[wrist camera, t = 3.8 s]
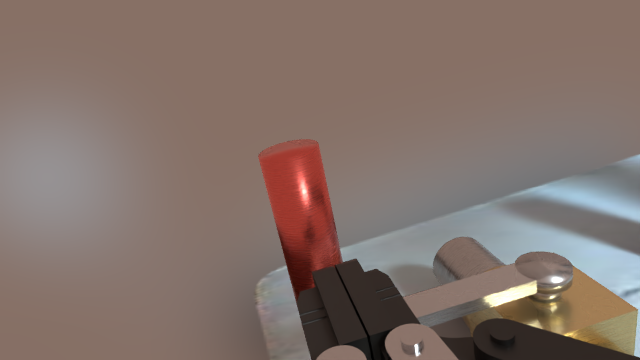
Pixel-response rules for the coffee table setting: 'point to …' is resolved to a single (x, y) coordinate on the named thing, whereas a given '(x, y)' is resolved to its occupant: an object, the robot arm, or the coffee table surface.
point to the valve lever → (323, 251)
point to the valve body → (545, 301)
